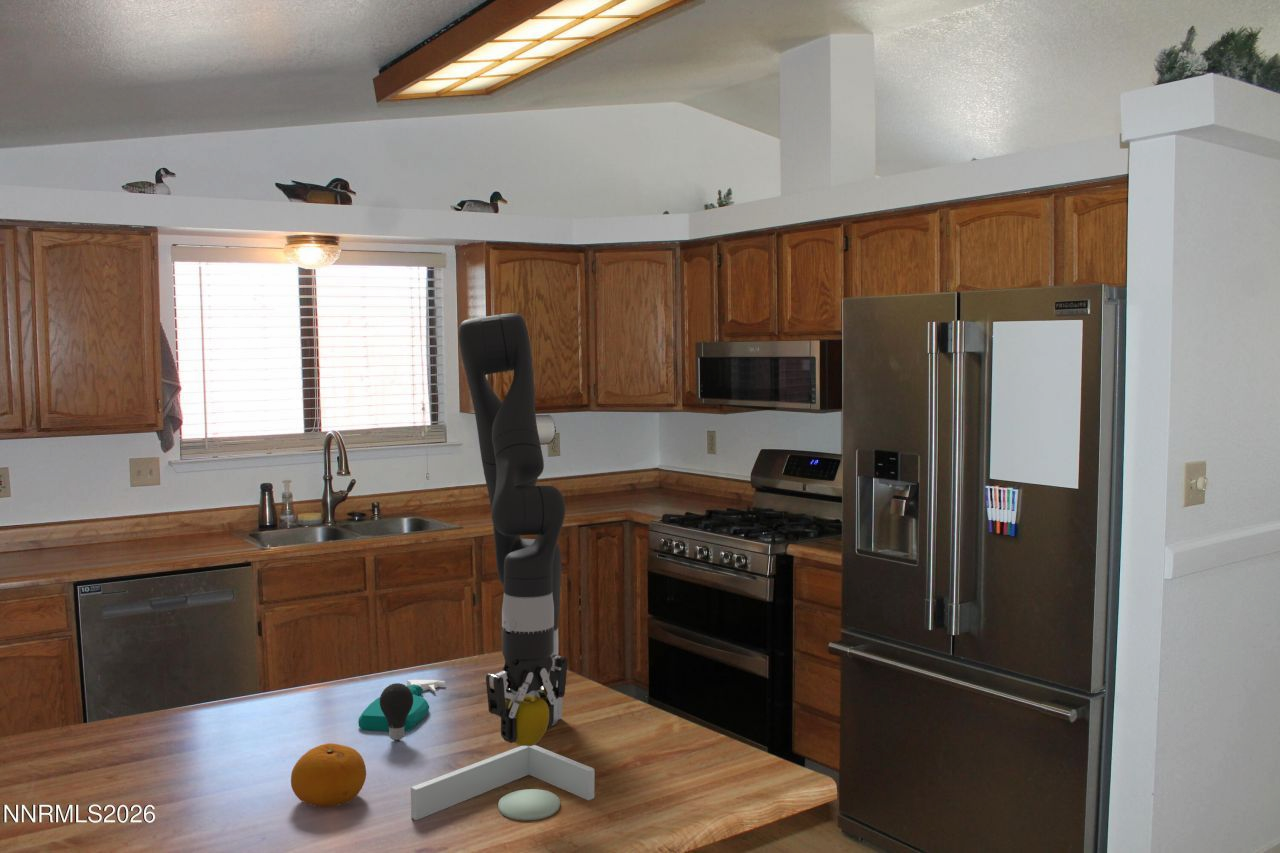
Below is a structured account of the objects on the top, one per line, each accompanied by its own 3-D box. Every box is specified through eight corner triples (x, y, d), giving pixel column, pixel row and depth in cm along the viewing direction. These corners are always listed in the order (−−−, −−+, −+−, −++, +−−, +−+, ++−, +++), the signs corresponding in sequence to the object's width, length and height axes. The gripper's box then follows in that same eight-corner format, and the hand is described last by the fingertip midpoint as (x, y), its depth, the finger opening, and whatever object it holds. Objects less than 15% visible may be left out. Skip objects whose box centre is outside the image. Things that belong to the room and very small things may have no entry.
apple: (497, 749, 148) (497, 695, 147) (518, 734, 154) (519, 682, 153) (536, 756, 145) (536, 702, 145) (556, 741, 151) (557, 688, 151)
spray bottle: (352, 732, 179) (399, 688, 204) (413, 735, 178) (452, 690, 202) (352, 715, 179) (399, 673, 203) (413, 718, 178) (452, 675, 202)
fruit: (326, 823, 144) (325, 768, 144) (277, 805, 150) (276, 752, 149) (381, 796, 153) (380, 744, 153) (333, 780, 159) (332, 730, 158)
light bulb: (405, 748, 171) (404, 690, 170) (374, 745, 172) (373, 688, 171) (419, 736, 177) (418, 679, 176) (388, 733, 178) (388, 677, 177)
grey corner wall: (529, 770, 163) (529, 742, 163) (594, 797, 153) (594, 768, 153) (411, 817, 146) (410, 787, 146) (475, 852, 137) (475, 819, 136)
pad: (531, 787, 157) (531, 783, 156) (572, 805, 151) (572, 801, 150) (485, 806, 150) (485, 802, 150) (526, 826, 144) (526, 822, 144)
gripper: (547, 609, 156) (546, 715, 157) (472, 627, 145) (472, 741, 147) (581, 618, 151) (580, 728, 152) (506, 637, 140) (506, 755, 141)
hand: (527, 734), depth 149 cm, fingers closed on apple, 6 cm apart
